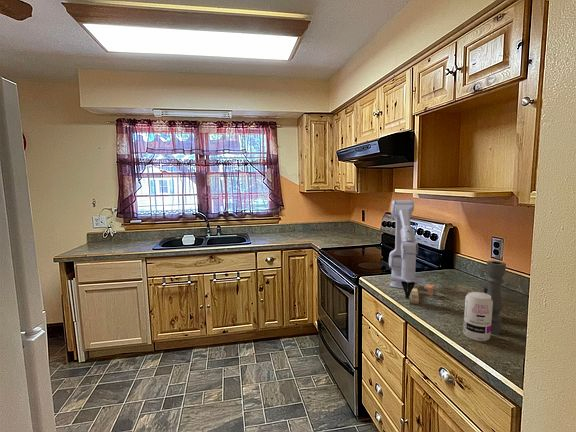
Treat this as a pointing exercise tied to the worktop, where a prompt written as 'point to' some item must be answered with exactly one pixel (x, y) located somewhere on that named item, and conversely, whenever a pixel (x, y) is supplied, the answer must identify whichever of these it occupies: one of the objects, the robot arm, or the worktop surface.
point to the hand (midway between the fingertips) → (407, 298)
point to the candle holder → (495, 292)
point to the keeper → (429, 288)
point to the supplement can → (478, 316)
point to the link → (415, 295)
